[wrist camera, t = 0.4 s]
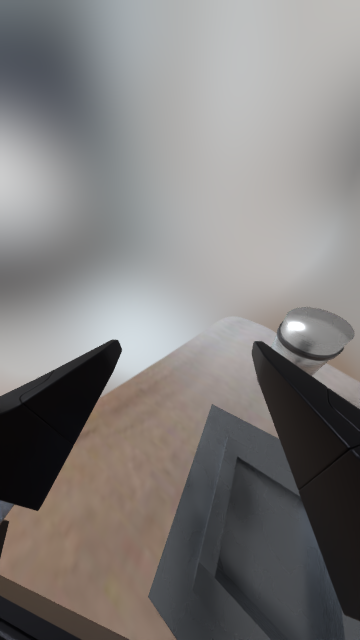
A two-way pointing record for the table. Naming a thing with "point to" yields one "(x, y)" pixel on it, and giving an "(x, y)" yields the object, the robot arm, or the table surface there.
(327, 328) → the silver banded cylinder
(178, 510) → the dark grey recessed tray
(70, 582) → the table surface
